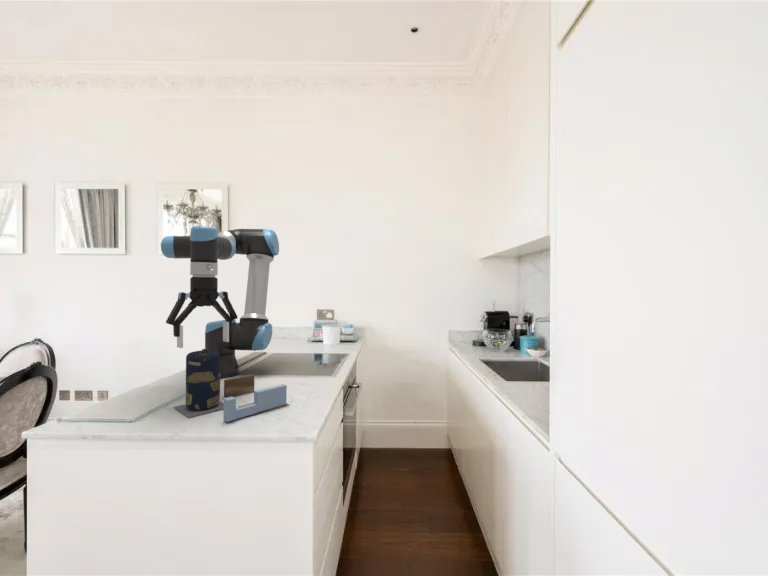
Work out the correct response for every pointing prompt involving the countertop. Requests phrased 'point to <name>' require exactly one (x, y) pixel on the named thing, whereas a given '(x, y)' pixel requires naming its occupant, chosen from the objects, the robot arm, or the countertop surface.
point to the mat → (193, 413)
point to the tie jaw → (256, 402)
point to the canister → (202, 379)
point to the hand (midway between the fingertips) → (204, 344)
